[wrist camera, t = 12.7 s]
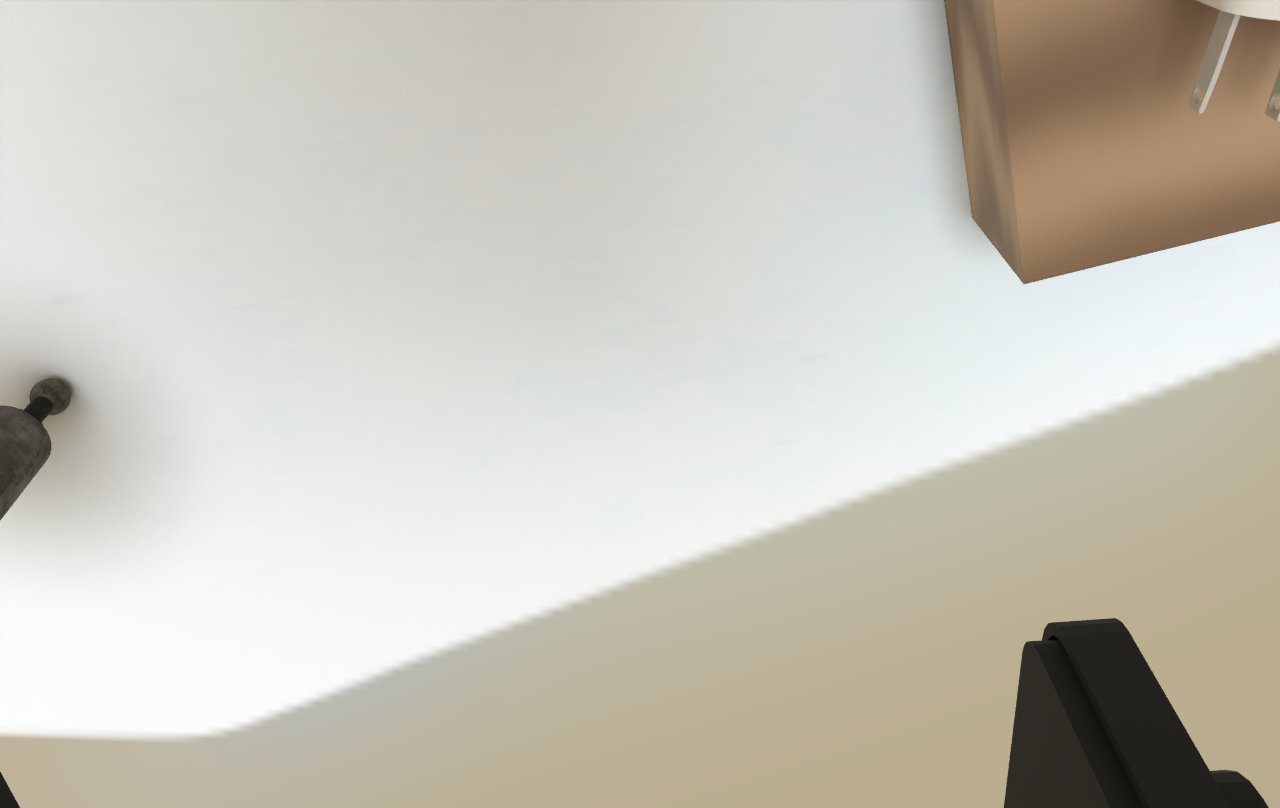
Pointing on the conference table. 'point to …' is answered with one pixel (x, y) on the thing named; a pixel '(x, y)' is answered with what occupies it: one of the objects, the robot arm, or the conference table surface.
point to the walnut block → (1110, 128)
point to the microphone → (27, 439)
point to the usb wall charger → (1261, 3)
